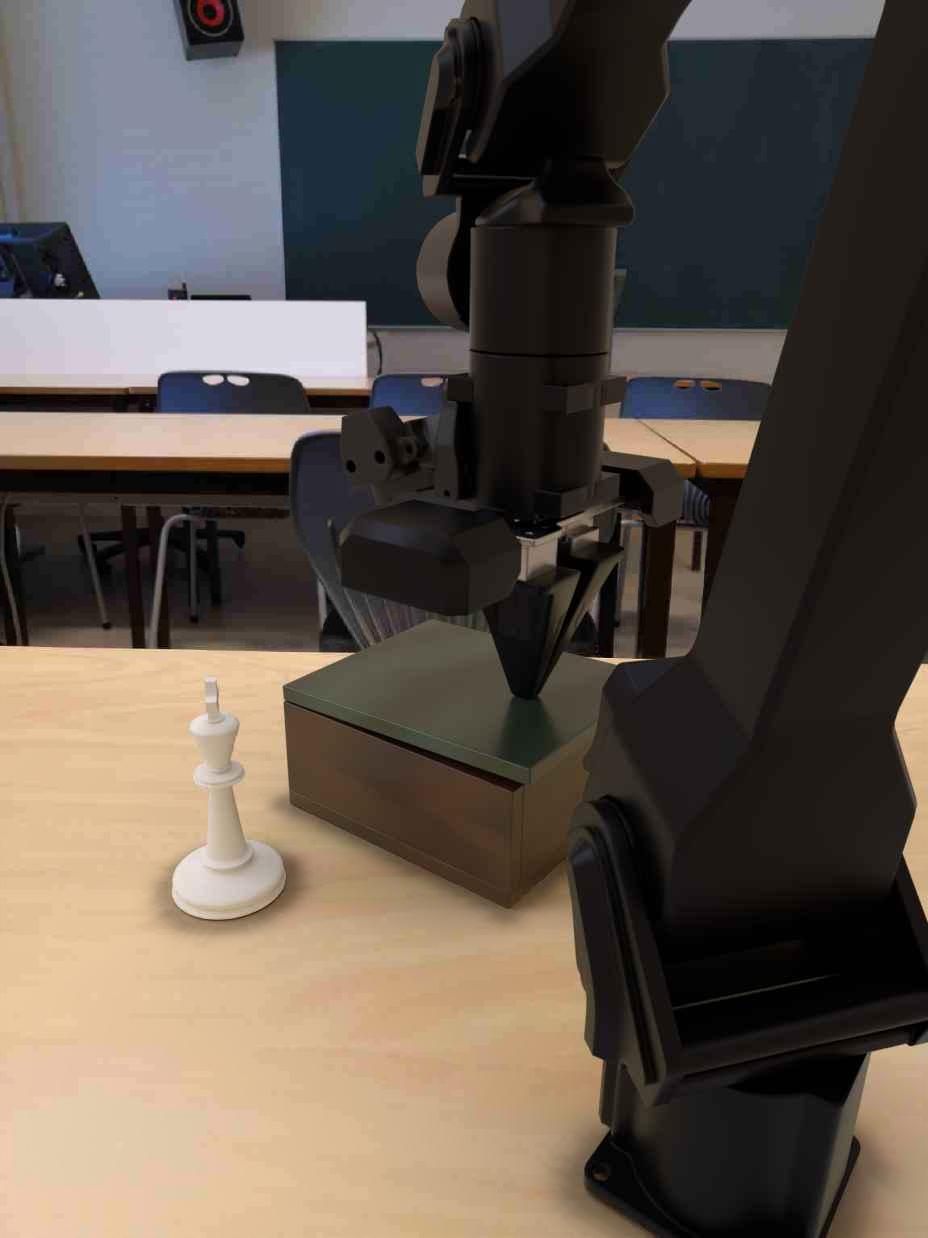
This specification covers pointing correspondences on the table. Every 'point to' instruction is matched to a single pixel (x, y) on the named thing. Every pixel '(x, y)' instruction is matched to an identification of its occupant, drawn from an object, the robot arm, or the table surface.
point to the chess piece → (224, 832)
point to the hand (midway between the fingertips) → (525, 695)
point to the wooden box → (433, 804)
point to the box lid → (460, 700)
